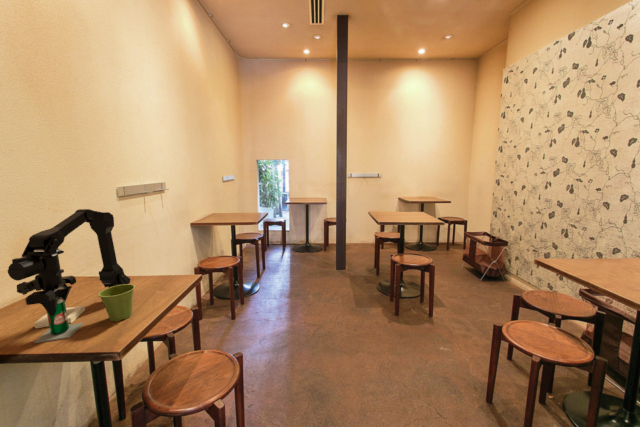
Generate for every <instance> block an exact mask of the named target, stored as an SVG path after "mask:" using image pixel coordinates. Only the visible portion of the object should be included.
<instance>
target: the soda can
mask: <svg viewBox="0 0 640 427" xmlns="http://www.w3.org/2000/svg"><path fill="white" fill-rule="evenodd" d="M66 308H67V307H66V302H65V300H64V299H63V298H62V297H59V298H58V303H57V308H56V312H55V315H54V316H50V315H49V313H48V312H47V311H46V314H47V317H48V322H49V326H48V328H49V329H50V333H51V334H53V335H57V334H61V333H64V332H66V331H67V330H68V329H69V325H70V323H68V317H67V316H68V314H67V312H66Z"/></svg>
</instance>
